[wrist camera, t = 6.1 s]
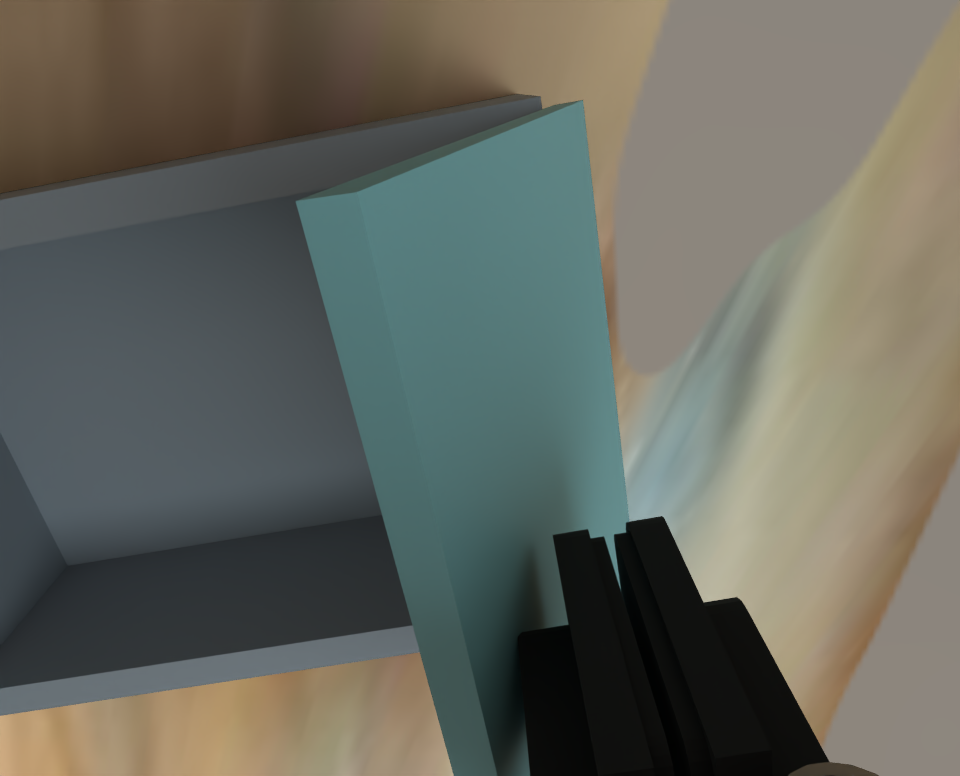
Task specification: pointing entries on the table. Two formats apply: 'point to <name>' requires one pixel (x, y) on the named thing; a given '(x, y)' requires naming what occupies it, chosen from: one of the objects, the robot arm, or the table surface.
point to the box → (189, 425)
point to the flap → (478, 396)
